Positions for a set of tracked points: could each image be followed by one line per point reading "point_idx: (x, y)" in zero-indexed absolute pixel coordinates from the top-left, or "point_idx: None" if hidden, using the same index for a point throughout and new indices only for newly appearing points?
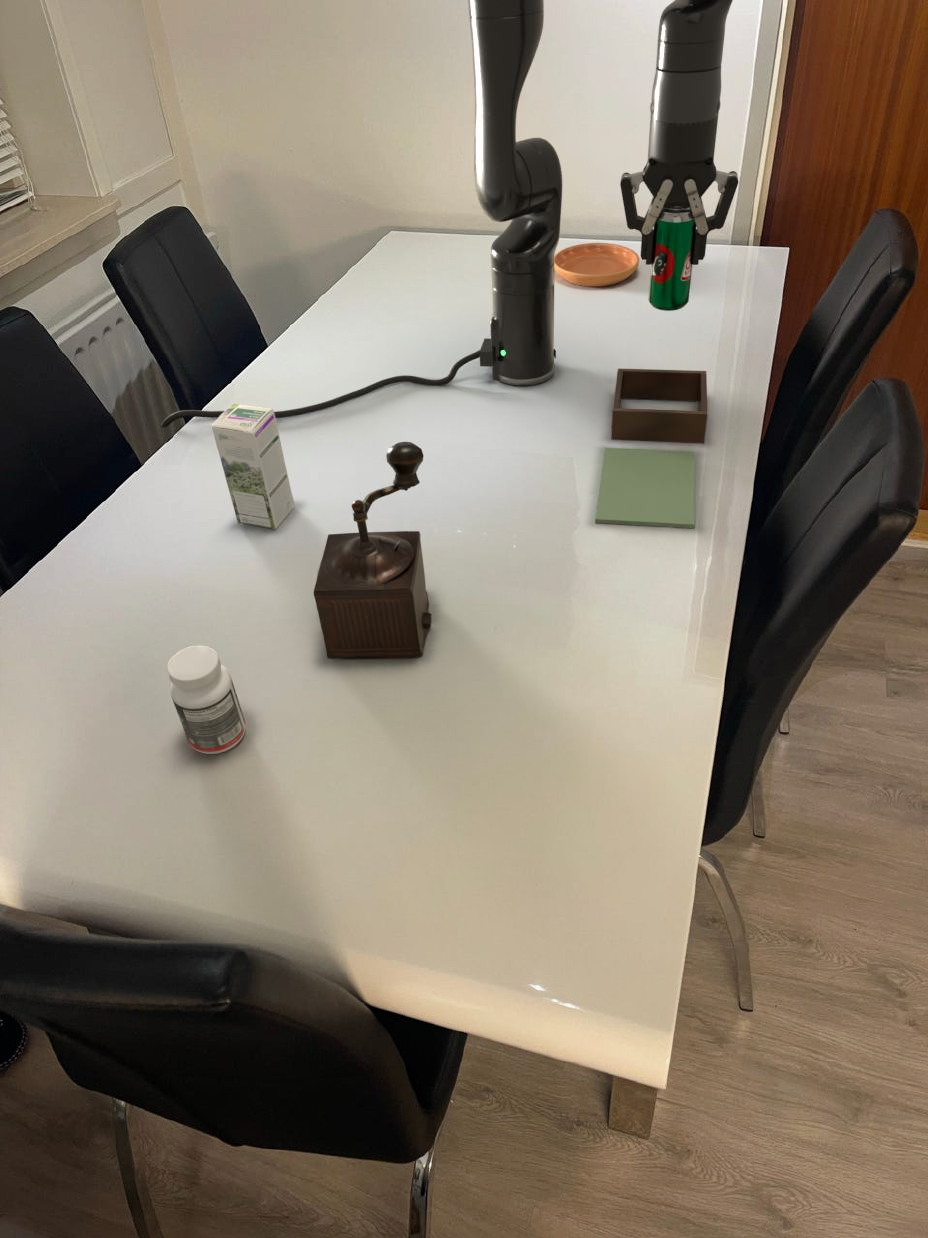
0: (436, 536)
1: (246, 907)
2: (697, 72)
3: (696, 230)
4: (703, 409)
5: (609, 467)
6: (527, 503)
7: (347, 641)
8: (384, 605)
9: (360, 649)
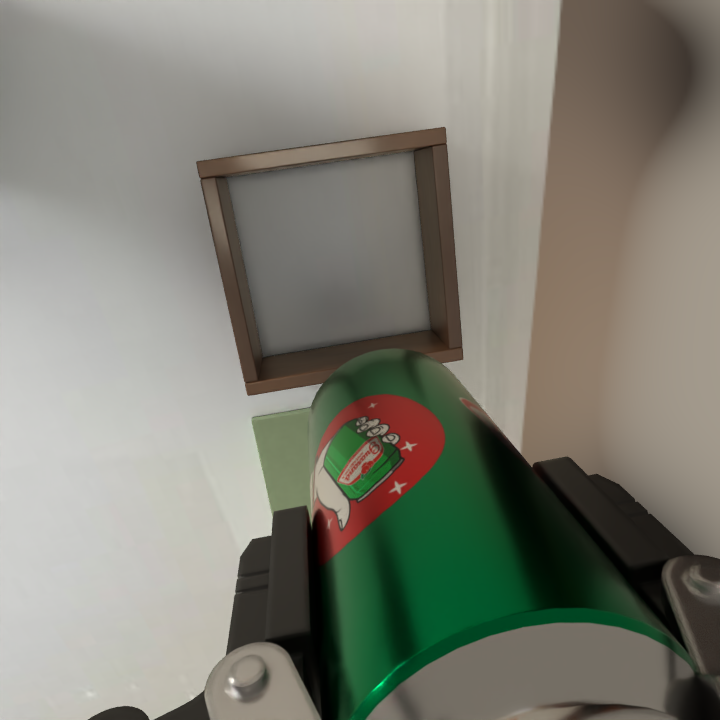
0: (60, 714)
1: None
2: None
3: (635, 589)
4: (453, 342)
5: (280, 485)
6: (168, 604)
7: None
8: None
9: None
